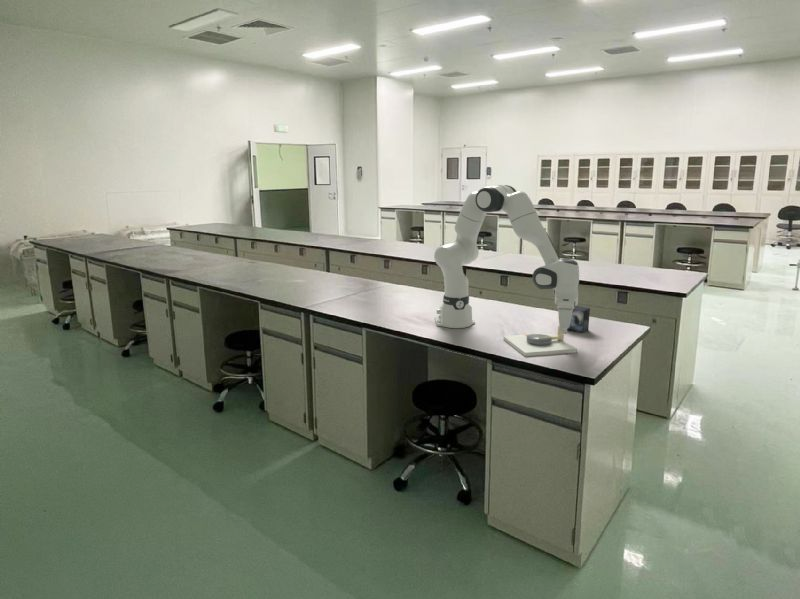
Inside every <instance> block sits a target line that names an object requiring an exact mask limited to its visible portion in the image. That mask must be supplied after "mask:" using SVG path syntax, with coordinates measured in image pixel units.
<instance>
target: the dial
mask: <svg viewBox="0 0 800 599" xmlns="http://www.w3.org/2000/svg"><path fill="white" fill-rule="evenodd" d="M530 334H531V333H530ZM554 339H557V340H560V341H562V340H564V339H565V334H562V328H560V326H559V325H558V326H557V335H556V336H548V335H543V334H542V333H532V334H531V335H528V336H527V340H526V341H527V342H528V343H531V344H535V345H548V344H551V343H552V340H554Z"/></svg>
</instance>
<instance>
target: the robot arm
mask: <svg viewBox="0 0 800 599" xmlns="http://www.w3.org/2000/svg"><path fill="white" fill-rule="evenodd" d="M498 212H504V213H505V214H506V215H507V217H508V219H509V223H510V225H511V227H512V229H513V231H514V233H515V235H516V236H517V237H518V238H519V239H521V240H524V241H527V242H528V243H531V244H532V245H534V246H535V247H536V248H537V250H538V252H539V254H540V256H541V258H542V260H543V262H544V265H543V266H541V265H540V266H539V267H538V268H536V269H534V271H533V273H532V276H531V277H532V282H533V285H534V286H535V287H536V288H538V289H539V290H545V291H546V290H554V304H555V305H556V308H557V310H558V311H557V312H558V313H557V314H558V315H557V316H558V326H560V328H562V334H564V335H567V333H568V330H567V328H569V326H570V321H571V316H572V311H573V309H574V307H575V306H579V305H578V304H579V287H578V286H579V283H580V267H579V264H578V262H577V260H574V259H571V258H565V257H562V258H560V256H559V253H558V252H557V249H556V247H555V246H554V244H553V241H552V240H551V237H550V236H549V234H548V232H547V230H546V228H544V225H543V224H542V221H541V220H540V216H539V215H538V212H537V210H536V207H535V205H534V204H533V202H532V200H531V198H530V196H529V195H528V194H527V193H526V192H524V191H518V190H516V189H515V188H514V187H513V186H512V185H507V184H504V185H503V184H495V185H488V186H484V187H481V189H479V190H478V191H472V192H470V193H469V195H468V196H467V197H466V199H465V201H464V203H463V205H462V207H461V209H460V212H459V215H458V217H457V219H456V222H455V225H454V231H455V233H456V236H455V237H456V238H455V241H454V242H450V243H449V242H448V243H445V244H443V245H440V246H439V247H437V248H436V250H435V251H434V262H435V264H436V265H437V266H439V268H440V270H441V272H442V276H443V281H444V282H443V283H444V286H443V287H444V294H443V298H442V304H441V305H440V307H439V309H436V314H437V315H435V316H434V320H435V325H436V326H437V327H442V328H443V327H444V328H450V329H464V328H469V327H470V326H472V325H474V324H476V321H475V320H474V319H473V308H472V306H471V305H470V304H469V303H470V295H469V278H468V277H467V276H466V274H465V273H464V269H463V266H464V265H468V264H471V263H472V262H474V261H476V260H477V258H478V257H479V252H480V251H479V247H478V245H477V242H478V237H479V233H480V230H481V228H482V226H483V224H484V220H485V218H486V216H487V214H488V213H498Z"/></svg>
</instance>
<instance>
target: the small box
mask: <svg viewBox="0 0 800 599" xmlns="http://www.w3.org/2000/svg"><path fill="white" fill-rule="evenodd" d="M590 311H591V308H590V307H586V306H580V305H576V306H575V307H574V309H573V311H572V316H571V321H570V326H569V328H567V331H570V332H575V333H580V334H583V333H586V332H588V331H590V330H589V325H590V324H589V323H590Z"/></svg>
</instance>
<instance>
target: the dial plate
mask: <svg viewBox="0 0 800 599" xmlns="http://www.w3.org/2000/svg"><path fill="white" fill-rule="evenodd" d="M541 334H543V335H548V336H557V335H555V334H554V333H552V332H546V333H544V332H542V333H541ZM528 335H531V333H529V334H519V335H518V334H516V335H515V334H514V335H505V336H504V335H503V336H502V337H503V341H505V342H506V343H507V344H508V345H510V346H511V347H512V348H514V350H516V351H517V352H519V353H520V355H522V354H523V355H522V356H524V357H533V356H546V355H559V354H570V353H571V354H572V353H578V348H577V347H575V346H574V345H572V344H570V343H569V342H567V341H565V340H564V339H563V340H562V341H560V340H557V339H554V340H552V343H551V344H548V345H535V344H531V343H528V342H527V341H526V340H527V336H528Z"/></svg>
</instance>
